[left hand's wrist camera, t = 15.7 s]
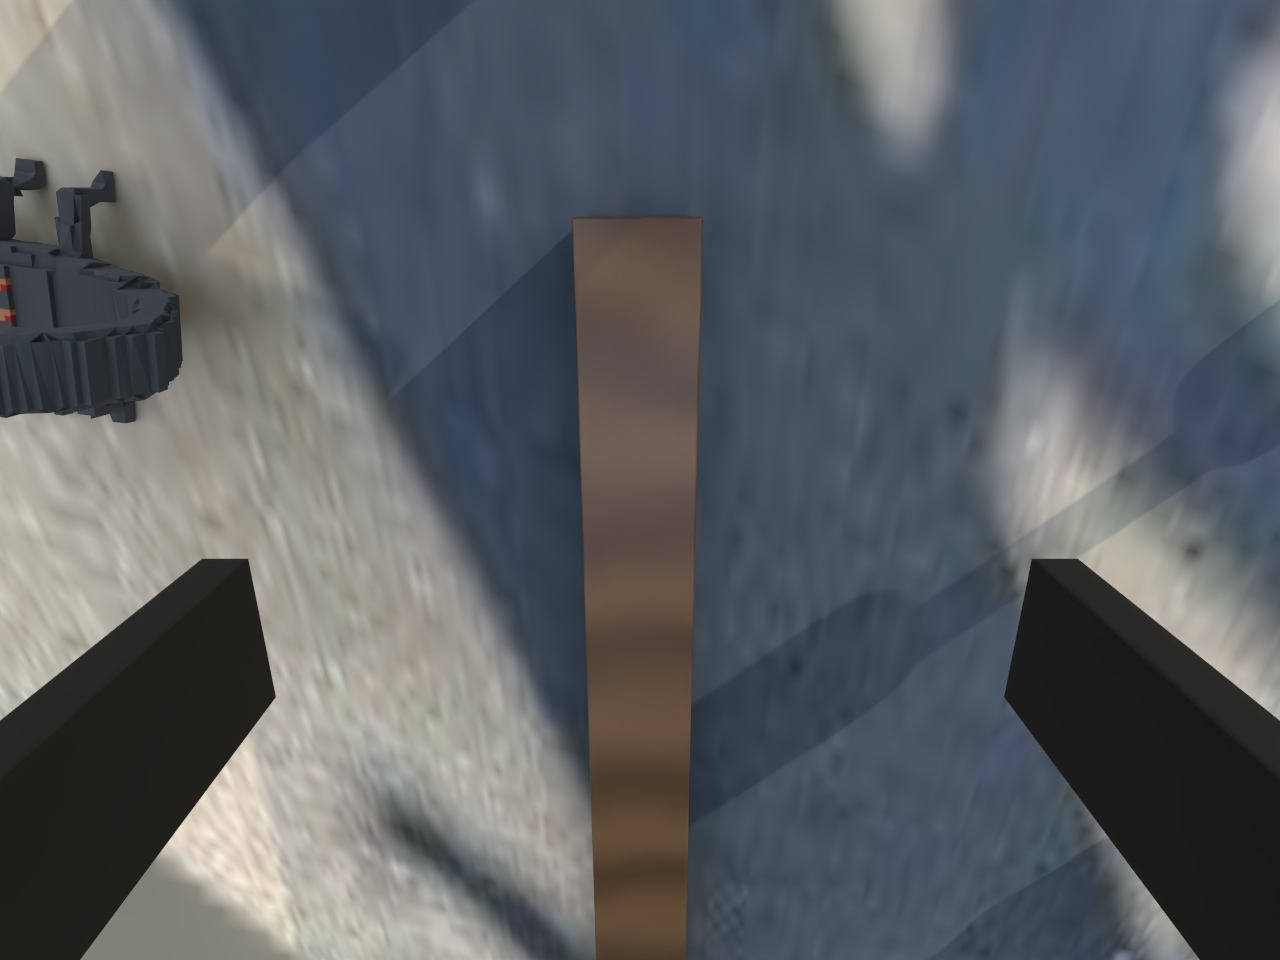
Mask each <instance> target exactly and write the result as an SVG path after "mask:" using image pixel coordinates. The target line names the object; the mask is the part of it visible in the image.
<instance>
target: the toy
mask: <svg viewBox="0 0 1280 960" xmlns="http://www.w3.org/2000/svg"><path fill="white" fill-rule="evenodd" d="M44 186H46V185H45V177H44V169H43V162H41V161H35V160H28V159H18V158H16V164H15V173H14V177H0V417H4V418H7V417H11V416H15V415H19V414H26V413H52V412H54V413H55V414H57V415H67V414H71V413H73V412H75V411H78V414H84V415H91V419H92V418H95V417H99V416H103V415H106V414H110V415H111V418H112V420H113V422H120V423H129V422H134V421H135V410H134V402H133V401H138V400H145V399H147V398H148V397H150V396H151V395H153V394H155V393H156V392H162V391H164V390H167V389H168V385H169V382H170V381H172V380H174V378H175V377H176V376H178V375H179V368H181V364H182V361H183V359H182V342H181V326H180V309H179V296H178V295H176V294H172V293H167V292H165V290H161V289H160V285H159V281H157V280H155V279H152V278H150V277H148V276H145V275H142V274H139V273H136V272H132V271H127V270H122V269H119V268H117V267H116V266H114V265H112V264H109V263H106V262H103V261H100V260H97V259H94V258H93V253H92V247H91V240H90V232H91V218H90V207H92V206H94V205H95V204H97V203H99V202H115V194H114V183H113V172H110V171H103V170H101V171H100V172H99V174H98V175H97V176H96V178H95V179H94V181H93V182H92V186H91V188H61V189H59V190H58V191H57V192H56V194H57V201H58V208H59V216H60V217H55V222H56V227H57V233H58V239H59V245H60V246H55V245H48V244H42V243H34V242H24V241H19V240H14V239H12V238H13V236H14V235H15V234H16V232H15V217H14V196H23V195H22V193H21V191H20V190H38V189H40V188H42V187H44Z"/></svg>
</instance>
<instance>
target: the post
mask: <svg viewBox="0 0 1280 960" xmlns="http://www.w3.org/2000/svg"><path fill="white" fill-rule="evenodd" d="M702 220H703V219H702V218H701V217H690V216H655V217H579V218H573V219H572V232H573V262H574V293H575V323H576V354H577V384H578V415H579V445H580V476H581V506H582V537H583V567H584V597H585V628H586V658H587V689H588V719H589V750H590V780H591V811H592V841H593V872H594V902H595V933H596V960H685V949H686V906H687V863H688V820H689V777H690V734H691V692H692V649H693V606H694V563H695V520H696V477H697V434H698V392H699V349H700V306H701V263H702Z"/></svg>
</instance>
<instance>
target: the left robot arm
mask: <svg viewBox="0 0 1280 960" xmlns="http://www.w3.org/2000/svg"><path fill="white" fill-rule="evenodd" d="M275 697H276V696H275V691H274V686H273V681H272V676H271V671H270V666H269V661H268V656H267V651H266V646H265V641H264V636H263V631H262V626H261V621H260V616H259V611H258V606H257V601H256V596H255V591H254V586H253V581H252V576H251V571H250V566H249V561H248V559H202V560H200V561H199V562H198V563H197V564H195V565H194V566H193V567H192V568H190V569H189V570H188V571H187V572H185V573H184V574H183V575H182V576H180V577H179V578H178V579H177V580H175V581H174V582H173V583H172V584H170V585H169V586H168V587H167V588H165V589H164V590H163V591H162V592H160V593H159V594H158V595H157V596H155V597H154V598H153V599H152V600H150V601H149V602H148V603H147V604H145V605H144V606H143V607H142V608H140V609H139V610H138V611H137V612H135V613H134V614H133V615H132V616H130V617H129V618H128V619H127V620H125V621H124V622H123V623H122V624H120V625H119V626H118V627H117V628H115V629H114V630H113V631H112V632H110V633H109V634H108V635H107V636H105V637H104V638H103V639H102V640H100V641H99V642H98V643H97V644H95V645H94V646H93V647H92V648H90V649H89V650H88V651H87V652H85V653H84V654H83V655H82V656H80V657H79V658H78V659H77V660H75V661H74V662H73V663H72V664H70V665H69V666H68V667H67V668H65V669H64V670H63V671H62V672H61V673H59V674H58V675H57V676H56V677H54V678H53V679H52V680H51V681H49V682H48V683H47V684H46V685H44V686H43V687H42V688H41V689H39V690H38V691H37V692H36V693H34V694H33V695H32V696H31V697H29V698H28V699H27V700H26V701H24V702H23V703H22V704H21V705H19V706H18V707H17V708H16V709H14V710H13V711H12V712H11V713H9V714H8V715H7V716H6V717H4V718H3V719H2V720H1V721H0V960H80V959H81V958H82V956H83V955H84V954H85V952H86V951H87V950H88V948H89V947H90V946H91V944H92V943H93V942H94V940H95V939H96V938H97V936H98V935H99V934H100V932H101V931H102V930H103V928H104V927H105V925H106V924H107V923H108V921H109V920H110V919H111V917H112V916H113V915H114V913H115V912H116V911H117V909H118V908H119V907H120V905H121V904H122V903H123V901H124V900H125V899H126V897H127V896H128V895H129V893H130V892H131V891H132V889H133V888H134V887H135V885H136V884H137V883H138V881H139V880H140V878H141V877H142V876H143V874H144V873H145V872H146V870H147V869H148V868H149V866H150V865H151V864H152V862H153V861H154V860H155V858H156V857H157V856H158V854H159V853H160V852H161V850H162V849H163V848H164V846H165V845H166V844H167V842H168V841H169V840H170V838H171V837H172V836H173V834H174V833H175V832H176V830H177V829H178V828H179V826H180V825H181V824H182V822H183V821H184V819H185V818H186V817H187V815H188V814H189V813H190V811H191V810H192V809H193V807H194V806H195V805H196V803H197V802H198V801H199V799H200V798H201V797H202V795H203V794H204V793H205V791H206V790H207V789H208V787H209V786H210V785H211V783H212V782H213V781H214V779H215V778H216V777H217V775H218V774H219V773H220V771H221V770H222V768H223V767H224V766H225V764H226V763H227V762H228V760H229V759H230V758H231V756H232V755H233V754H234V752H235V751H236V750H237V748H238V747H239V746H240V744H241V743H242V742H243V740H244V739H245V738H246V736H247V735H248V734H249V732H250V731H251V730H252V728H253V727H254V726H255V724H256V723H257V722H258V720H259V719H260V718H261V716H262V715H263V713H264V712H265V711H266V709H267V708H268V707H269V705H270V704H271V703H272V701H273V700H274V699H275ZM1004 697H1005V699H1006V700H1007V701H1008V703H1009V704H1010V705H1011V707H1012V708H1013V709H1014V711H1015V712H1016V713H1017V715H1018V716H1019V718H1020V719H1021V720H1022V722H1023V723H1024V724H1025V726H1026V727H1027V728H1028V730H1029V731H1030V732H1031V734H1032V735H1033V736H1034V738H1035V739H1036V740H1037V742H1038V743H1039V744H1040V746H1041V747H1042V748H1043V750H1044V751H1045V752H1046V754H1047V755H1048V756H1049V758H1050V759H1051V760H1052V762H1053V763H1054V764H1055V766H1056V767H1057V768H1058V770H1059V771H1060V773H1061V774H1062V775H1063V777H1064V778H1065V779H1066V781H1067V782H1068V783H1069V785H1070V786H1071V787H1072V789H1073V790H1074V791H1075V793H1076V794H1077V795H1078V797H1079V798H1080V799H1081V801H1082V802H1083V803H1084V805H1085V806H1086V807H1087V809H1088V810H1089V811H1090V813H1091V814H1092V815H1093V817H1094V818H1095V819H1096V821H1097V822H1098V824H1099V825H1100V826H1101V828H1102V829H1103V830H1104V832H1105V833H1106V834H1107V836H1108V837H1109V838H1110V840H1111V841H1112V842H1113V844H1114V845H1115V846H1116V848H1117V849H1118V850H1119V852H1120V853H1121V854H1122V856H1123V857H1124V858H1125V860H1126V861H1127V862H1128V864H1129V865H1130V866H1131V868H1132V869H1133V870H1134V872H1135V873H1136V875H1137V876H1138V877H1139V879H1140V880H1141V881H1142V883H1143V884H1144V885H1145V887H1146V888H1147V889H1148V891H1149V892H1150V893H1151V895H1152V896H1153V897H1154V899H1155V900H1156V901H1157V903H1158V904H1159V905H1160V907H1161V908H1162V909H1163V911H1164V912H1165V913H1166V915H1167V916H1168V917H1169V919H1170V920H1171V921H1172V923H1173V924H1174V925H1175V927H1176V928H1177V930H1178V931H1179V932H1180V934H1181V935H1182V936H1183V938H1184V939H1185V940H1186V942H1187V943H1188V944H1189V946H1190V947H1191V948H1192V950H1193V951H1194V952H1195V954H1196V955H1197V956H1198V958H1199V959H1200V960H1280V721H1279V720H1278V719H1277V718H1276V717H1274V716H1273V715H1272V714H1271V713H1269V712H1268V711H1267V710H1266V709H1264V708H1263V707H1262V706H1261V705H1259V704H1258V703H1257V702H1256V701H1254V700H1253V699H1252V698H1251V697H1249V696H1248V695H1247V694H1246V693H1244V692H1243V691H1242V690H1241V689H1239V688H1238V687H1237V686H1236V685H1234V684H1233V683H1232V682H1231V681H1229V680H1228V679H1227V678H1226V677H1224V676H1223V675H1222V674H1221V673H1220V672H1218V671H1217V670H1216V669H1215V668H1213V667H1212V666H1211V665H1210V664H1208V663H1207V662H1206V661H1205V660H1203V659H1202V658H1201V657H1200V656H1198V655H1197V654H1196V653H1195V652H1193V651H1192V650H1191V649H1190V648H1188V647H1187V646H1186V645H1185V644H1183V643H1182V642H1181V641H1180V640H1178V639H1177V638H1176V637H1175V636H1173V635H1172V634H1171V633H1170V632H1168V631H1167V630H1166V629H1165V628H1163V627H1162V626H1161V625H1160V624H1158V623H1157V622H1156V621H1155V620H1153V619H1152V618H1151V617H1150V616H1148V615H1147V614H1146V613H1145V612H1143V611H1142V610H1141V609H1140V608H1138V607H1137V606H1136V605H1135V604H1133V603H1132V602H1131V601H1130V600H1128V599H1127V598H1126V597H1125V596H1123V595H1122V594H1121V593H1120V592H1118V591H1117V590H1116V589H1115V588H1113V587H1112V586H1111V585H1110V584H1108V583H1107V582H1106V581H1105V580H1103V579H1102V578H1101V577H1100V576H1098V575H1097V574H1096V573H1095V572H1093V571H1092V570H1091V569H1090V568H1088V567H1087V566H1086V565H1085V564H1083V563H1082V562H1081V561H1080V560H1078V559H1032V561H1031V566H1030V571H1029V576H1028V581H1027V586H1026V591H1025V596H1024V601H1023V606H1022V611H1021V616H1020V621H1019V626H1018V631H1017V636H1016V641H1015V646H1014V651H1013V656H1012V661H1011V666H1010V671H1009V676H1008V681H1007V686H1006V691H1005V696H1004Z"/></svg>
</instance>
